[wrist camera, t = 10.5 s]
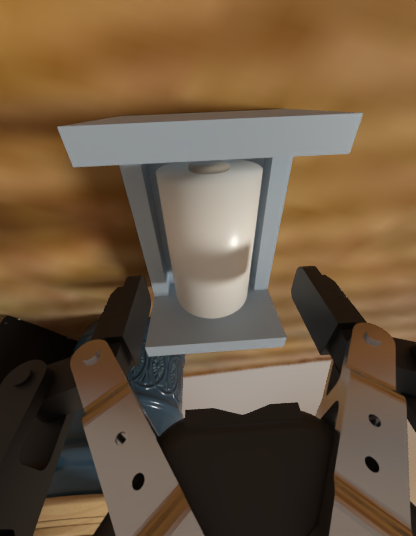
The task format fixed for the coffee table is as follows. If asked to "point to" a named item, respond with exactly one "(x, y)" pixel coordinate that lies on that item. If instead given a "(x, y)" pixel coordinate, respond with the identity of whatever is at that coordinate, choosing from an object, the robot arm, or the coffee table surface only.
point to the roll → (210, 231)
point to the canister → (79, 455)
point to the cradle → (205, 149)
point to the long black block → (29, 345)
